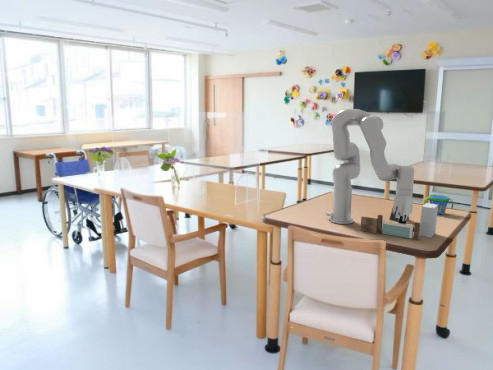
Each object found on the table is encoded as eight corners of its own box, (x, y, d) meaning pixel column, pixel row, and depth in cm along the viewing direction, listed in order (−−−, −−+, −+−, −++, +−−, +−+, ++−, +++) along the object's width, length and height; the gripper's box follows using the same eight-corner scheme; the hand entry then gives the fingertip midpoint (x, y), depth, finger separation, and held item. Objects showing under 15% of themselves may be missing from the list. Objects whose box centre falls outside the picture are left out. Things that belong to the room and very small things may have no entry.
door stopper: (398, 222, 224) (399, 200, 222) (389, 219, 229) (390, 198, 227) (409, 219, 229) (410, 198, 227) (399, 217, 234) (401, 196, 232)
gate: (381, 233, 203) (382, 221, 202) (382, 232, 205) (383, 220, 203) (412, 238, 195) (413, 226, 194) (413, 237, 197) (414, 225, 195)
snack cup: (452, 212, 243) (453, 195, 241) (453, 217, 234) (454, 199, 232) (423, 210, 249) (424, 193, 248) (423, 214, 240) (424, 197, 238)
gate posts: (360, 230, 209) (360, 213, 207) (362, 229, 212) (363, 211, 210) (417, 240, 193) (419, 221, 192) (419, 238, 196) (420, 220, 195)
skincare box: (423, 231, 207) (425, 202, 204) (436, 233, 204) (438, 204, 201) (418, 235, 200) (421, 205, 198) (432, 238, 197) (434, 207, 194)
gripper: (405, 188, 208) (403, 224, 211) (388, 192, 199) (386, 229, 202) (420, 191, 202) (417, 227, 205) (402, 195, 193) (400, 232, 196)
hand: (401, 228), depth 204 cm, fingers closed
